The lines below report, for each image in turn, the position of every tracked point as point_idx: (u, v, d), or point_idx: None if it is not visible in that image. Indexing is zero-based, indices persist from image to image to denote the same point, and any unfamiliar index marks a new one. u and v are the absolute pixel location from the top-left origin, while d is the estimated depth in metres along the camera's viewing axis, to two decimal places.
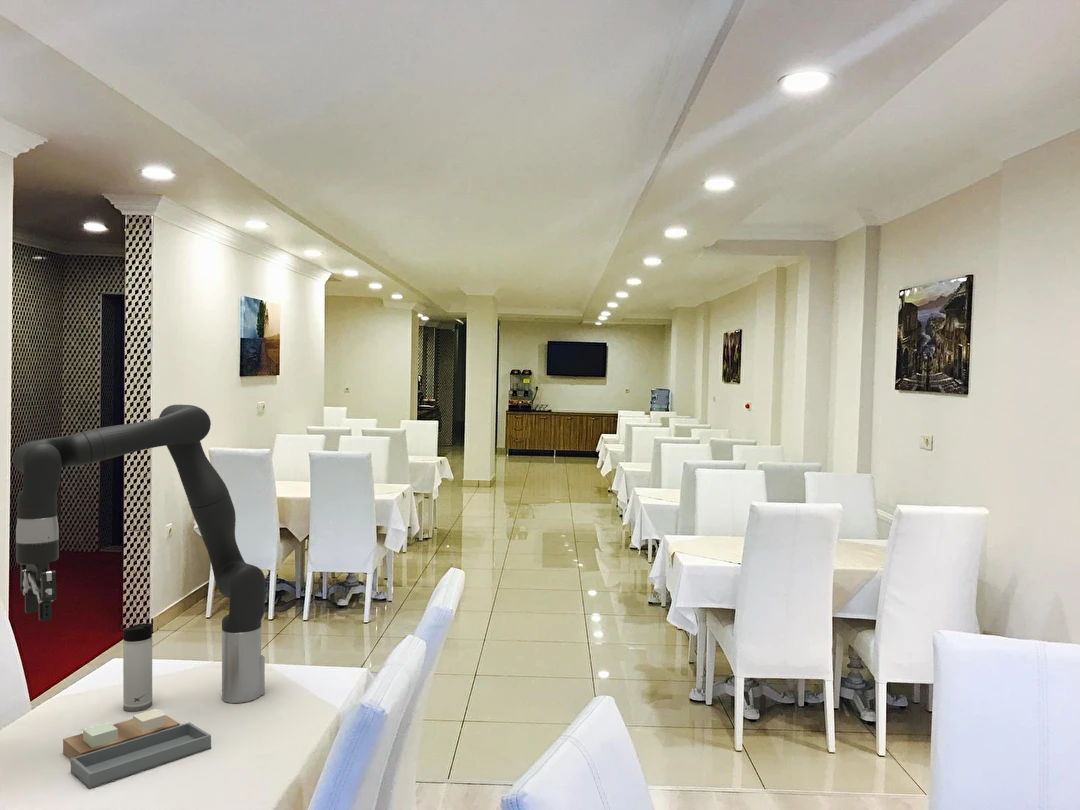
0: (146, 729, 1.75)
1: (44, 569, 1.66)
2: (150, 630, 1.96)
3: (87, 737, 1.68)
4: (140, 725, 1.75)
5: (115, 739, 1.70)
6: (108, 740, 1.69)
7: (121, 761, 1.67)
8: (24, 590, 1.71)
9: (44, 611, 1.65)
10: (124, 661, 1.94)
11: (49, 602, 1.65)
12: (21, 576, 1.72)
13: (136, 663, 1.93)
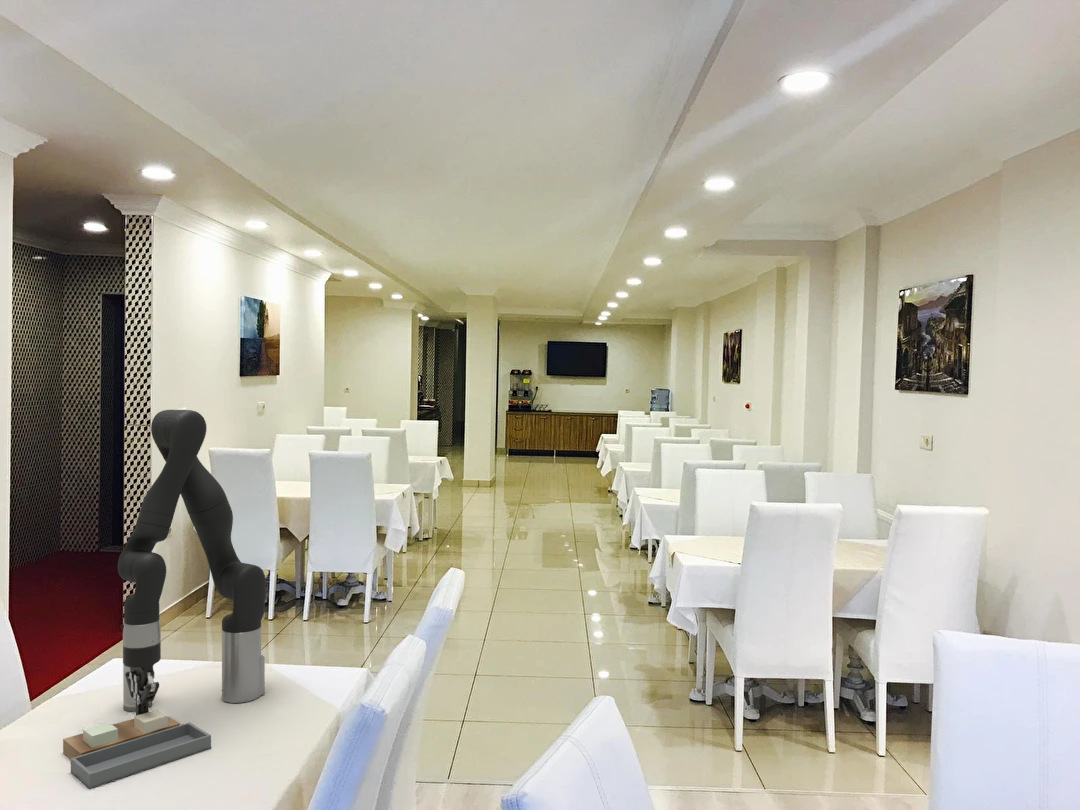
0: (148, 730, 1.75)
1: (150, 674, 1.77)
2: None
3: (87, 737, 1.68)
4: (142, 726, 1.74)
5: (115, 739, 1.70)
6: (108, 740, 1.69)
7: (121, 761, 1.67)
8: (135, 698, 1.80)
9: (142, 711, 1.79)
10: None
11: (147, 703, 1.79)
12: (129, 684, 1.82)
13: None
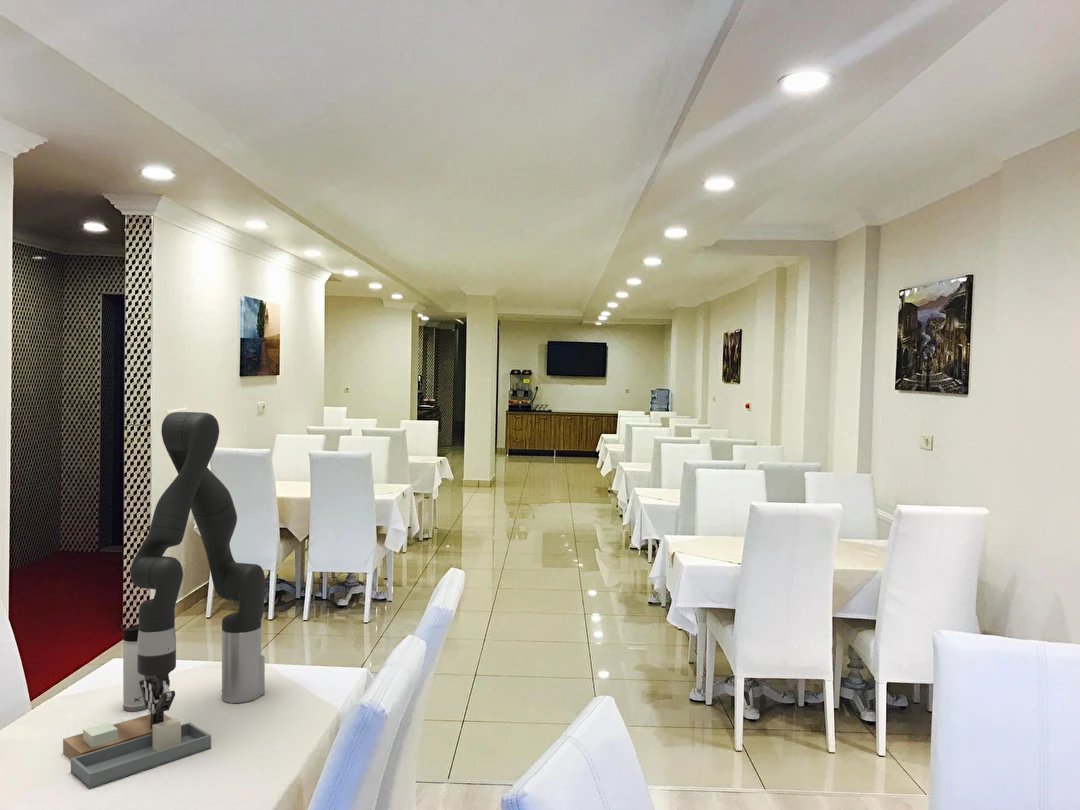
0: None
1: (165, 683, 1.72)
2: None
3: (87, 737, 1.68)
4: (155, 746, 1.72)
5: (115, 739, 1.70)
6: (108, 740, 1.69)
7: (121, 761, 1.67)
8: (150, 707, 1.75)
9: (157, 721, 1.74)
10: (124, 661, 1.94)
11: (162, 712, 1.74)
12: (143, 693, 1.77)
13: (136, 663, 1.93)
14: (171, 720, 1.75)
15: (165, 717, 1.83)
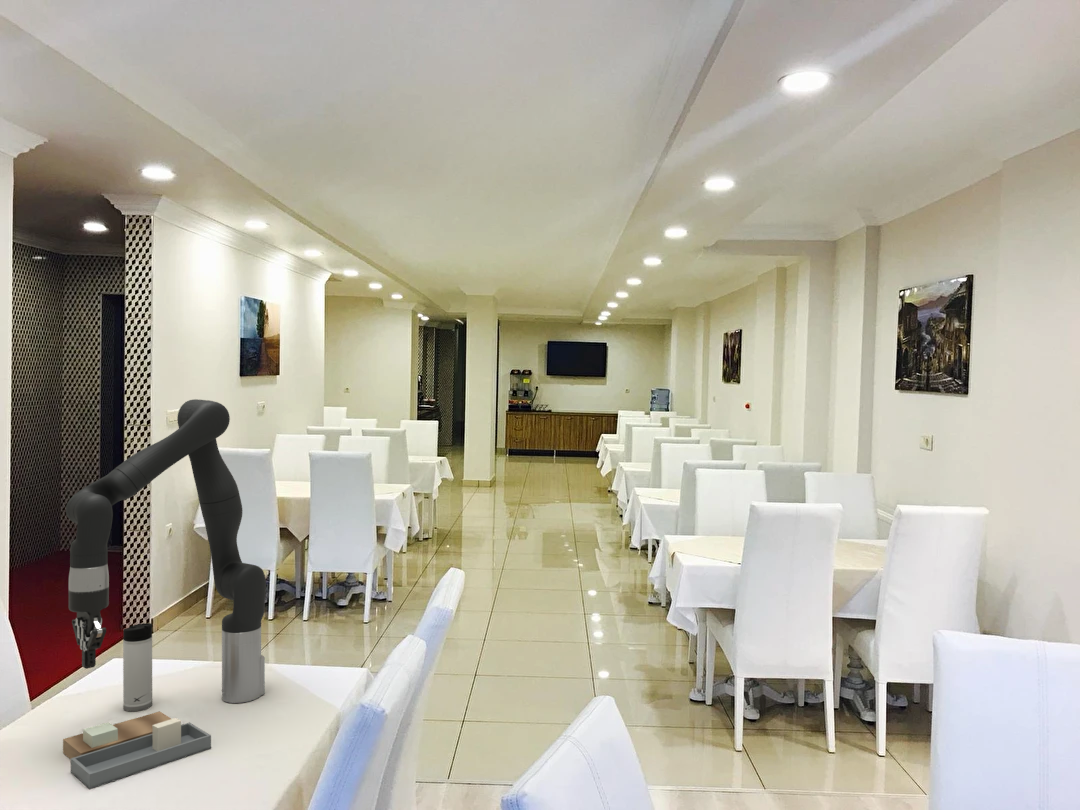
0: None
1: (96, 619, 1.72)
2: (150, 630, 1.96)
3: (87, 737, 1.68)
4: (155, 746, 1.72)
5: (115, 739, 1.70)
6: (108, 740, 1.69)
7: (121, 761, 1.67)
8: (81, 644, 1.74)
9: (89, 659, 1.73)
10: (124, 661, 1.94)
11: (93, 650, 1.74)
12: (75, 631, 1.76)
13: (136, 663, 1.93)
14: (171, 720, 1.75)
15: (165, 717, 1.83)
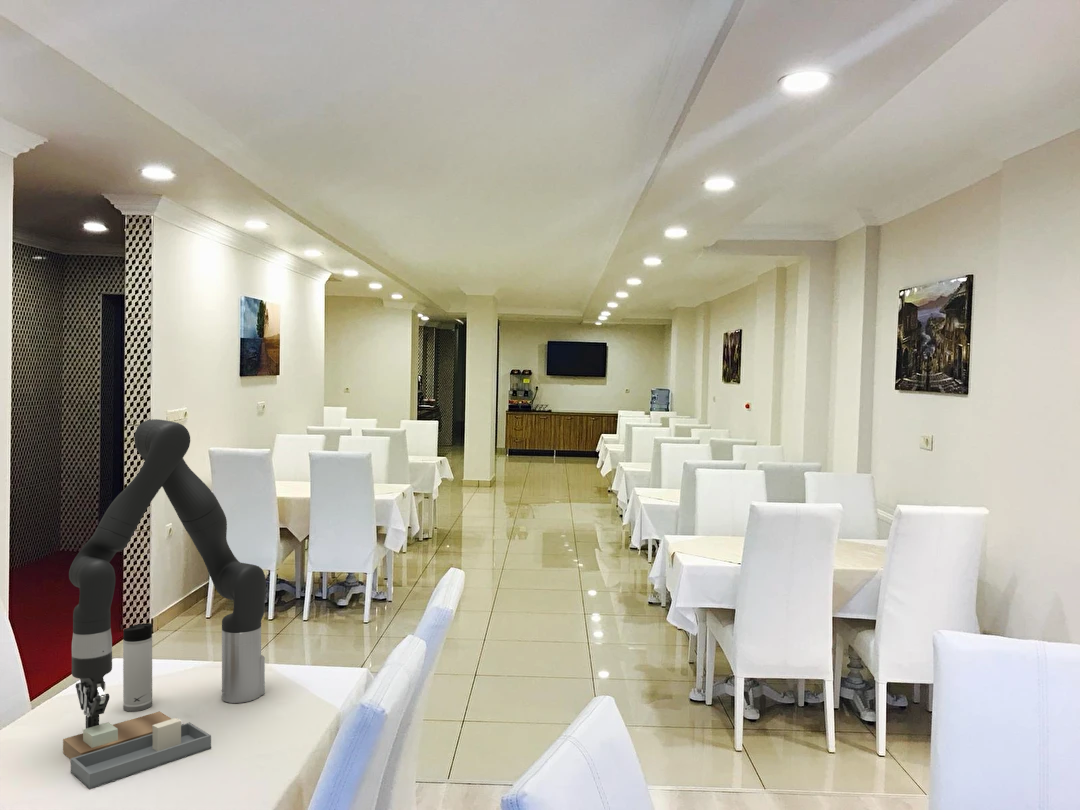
0: None
1: (99, 686, 1.70)
2: (150, 630, 1.96)
3: (87, 737, 1.68)
4: (155, 746, 1.72)
5: (115, 739, 1.70)
6: (108, 740, 1.69)
7: (121, 761, 1.67)
8: (85, 710, 1.73)
9: (92, 724, 1.72)
10: (124, 661, 1.94)
11: (97, 715, 1.72)
12: (79, 696, 1.75)
13: (136, 663, 1.93)
14: (171, 720, 1.75)
15: (165, 717, 1.83)
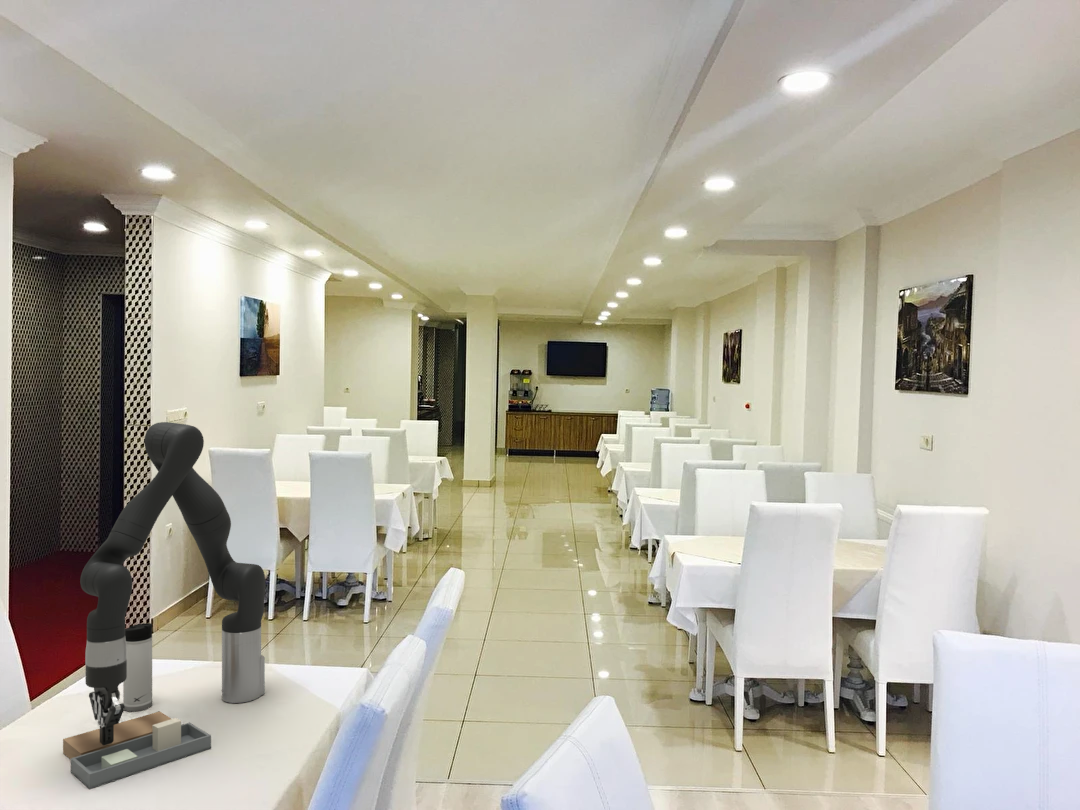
0: None
1: (114, 695, 1.65)
2: (150, 630, 1.96)
3: (106, 767, 1.62)
4: (155, 746, 1.72)
5: None
6: None
7: None
8: (99, 720, 1.67)
9: (107, 735, 1.67)
10: None
11: (111, 726, 1.67)
12: (92, 705, 1.70)
13: (136, 663, 1.93)
14: (171, 720, 1.75)
15: (165, 717, 1.83)
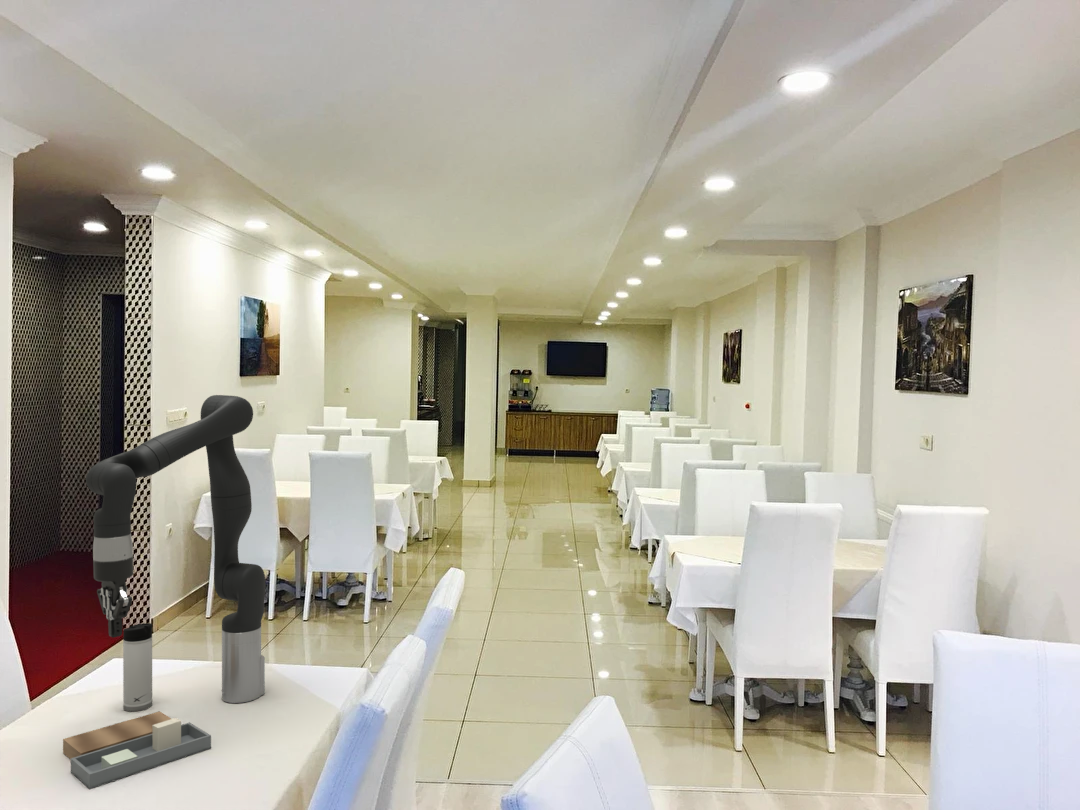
0: None
1: (122, 589, 1.72)
2: (150, 630, 1.96)
3: (106, 767, 1.62)
4: (155, 746, 1.72)
5: None
6: None
7: None
8: (108, 614, 1.74)
9: (115, 628, 1.74)
10: (124, 661, 1.94)
11: (120, 619, 1.74)
12: (100, 601, 1.76)
13: (136, 663, 1.93)
14: (171, 720, 1.75)
15: (165, 717, 1.83)
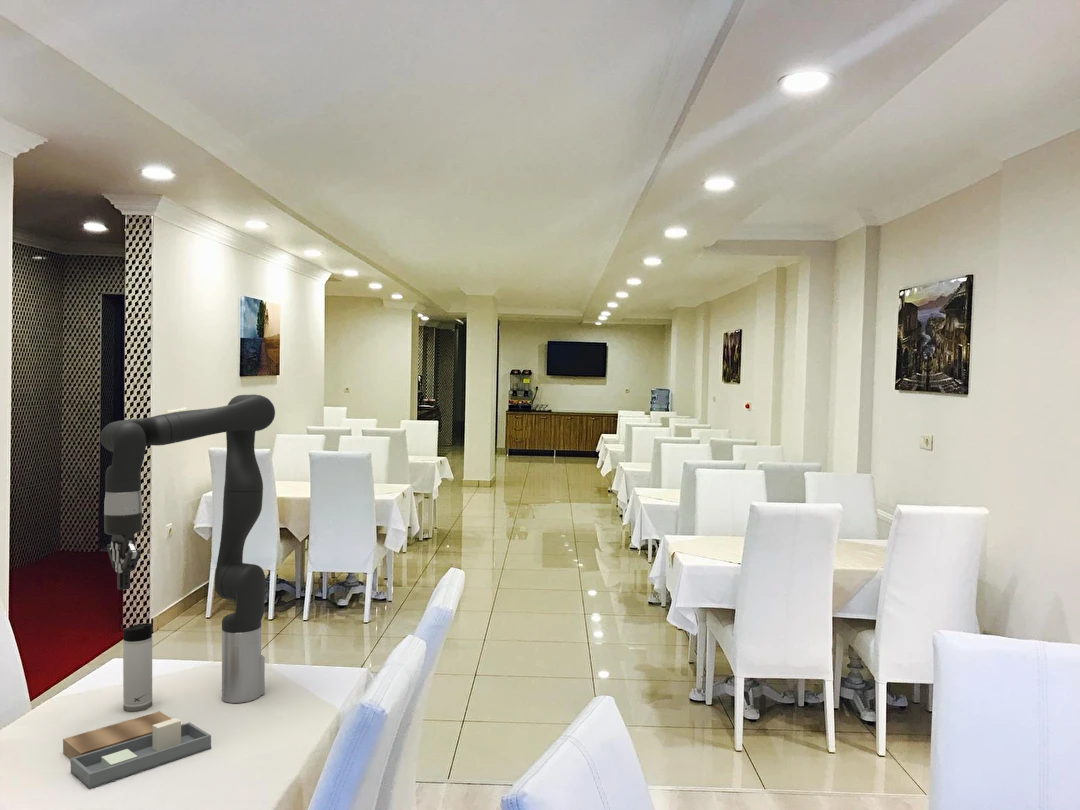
0: None
1: (131, 542, 1.79)
2: (150, 630, 1.96)
3: (106, 767, 1.62)
4: (155, 746, 1.72)
5: None
6: None
7: None
8: (117, 567, 1.81)
9: (124, 580, 1.80)
10: (124, 661, 1.94)
11: (128, 572, 1.81)
12: (110, 555, 1.83)
13: (136, 663, 1.93)
14: (171, 720, 1.75)
15: (165, 717, 1.83)
